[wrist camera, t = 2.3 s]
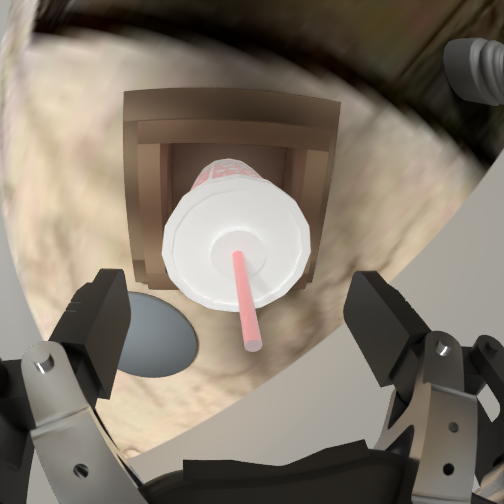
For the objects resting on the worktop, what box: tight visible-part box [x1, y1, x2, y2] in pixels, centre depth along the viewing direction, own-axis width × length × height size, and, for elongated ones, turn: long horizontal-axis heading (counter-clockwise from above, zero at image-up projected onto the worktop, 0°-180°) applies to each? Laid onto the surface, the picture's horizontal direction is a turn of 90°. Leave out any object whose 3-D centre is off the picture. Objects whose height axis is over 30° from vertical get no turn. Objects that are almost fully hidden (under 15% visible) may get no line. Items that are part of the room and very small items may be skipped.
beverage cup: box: [162, 158, 311, 352], centre depth 13 cm, size 6×6×14 cm
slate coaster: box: [117, 292, 196, 378], centre depth 24 cm, size 11×11×1 cm
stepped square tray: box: [123, 88, 341, 290], centre depth 17 cm, size 14×14×4 cm
